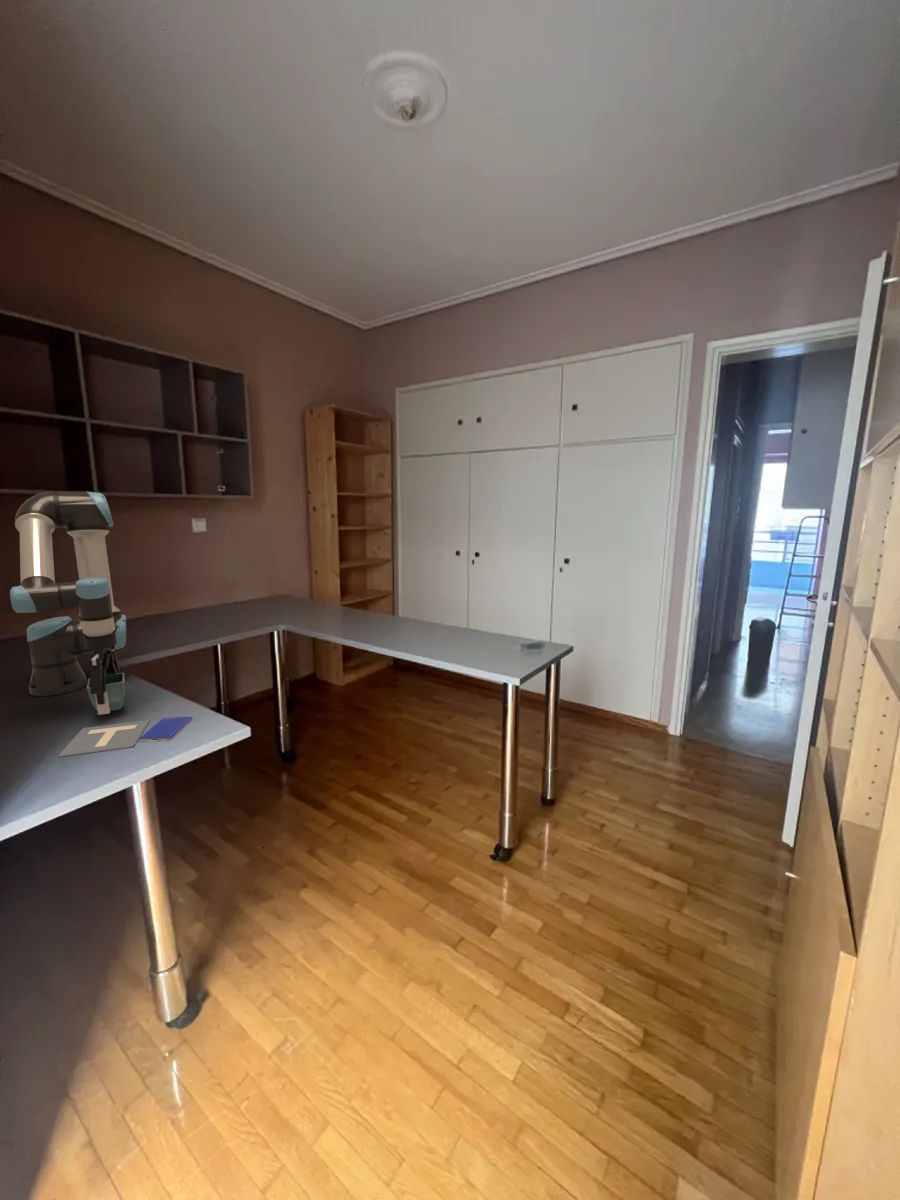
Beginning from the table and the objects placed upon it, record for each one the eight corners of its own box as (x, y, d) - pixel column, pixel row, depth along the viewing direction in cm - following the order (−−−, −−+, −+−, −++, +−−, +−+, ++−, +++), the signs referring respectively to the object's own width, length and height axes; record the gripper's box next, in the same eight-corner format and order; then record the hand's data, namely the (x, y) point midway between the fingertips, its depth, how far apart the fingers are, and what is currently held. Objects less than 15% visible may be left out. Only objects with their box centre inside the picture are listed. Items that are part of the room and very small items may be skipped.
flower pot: (90, 717, 137) (86, 687, 135) (92, 706, 144) (88, 677, 142) (128, 710, 142) (124, 681, 140) (127, 700, 149) (124, 672, 147)
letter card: (83, 728, 133) (82, 727, 133) (149, 720, 138) (149, 719, 138) (57, 757, 118) (57, 756, 118) (133, 747, 123) (133, 746, 123)
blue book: (162, 717, 138) (138, 738, 126) (192, 716, 139) (170, 737, 127) (163, 722, 138) (138, 743, 126) (192, 721, 139) (171, 742, 127)
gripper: (97, 624, 147) (107, 693, 152) (67, 645, 127) (80, 724, 131) (126, 622, 149) (135, 690, 154) (101, 642, 129) (112, 721, 134)
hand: (109, 706), depth 143 cm, fingers closed on flower pot, 9 cm apart
